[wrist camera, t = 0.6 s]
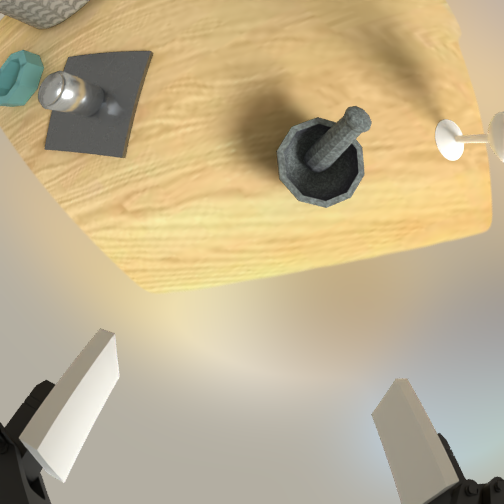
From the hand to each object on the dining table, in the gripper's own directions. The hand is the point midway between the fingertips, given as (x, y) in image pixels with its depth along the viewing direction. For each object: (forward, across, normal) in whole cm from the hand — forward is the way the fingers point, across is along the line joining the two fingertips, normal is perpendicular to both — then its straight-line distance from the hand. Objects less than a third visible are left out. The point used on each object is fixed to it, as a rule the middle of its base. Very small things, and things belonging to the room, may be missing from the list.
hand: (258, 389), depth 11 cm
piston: (+27, -28, +15) cm, 42 cm away
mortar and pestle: (+28, +5, +11) cm, 30 cm away
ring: (+27, -48, +21) cm, 59 cm away
